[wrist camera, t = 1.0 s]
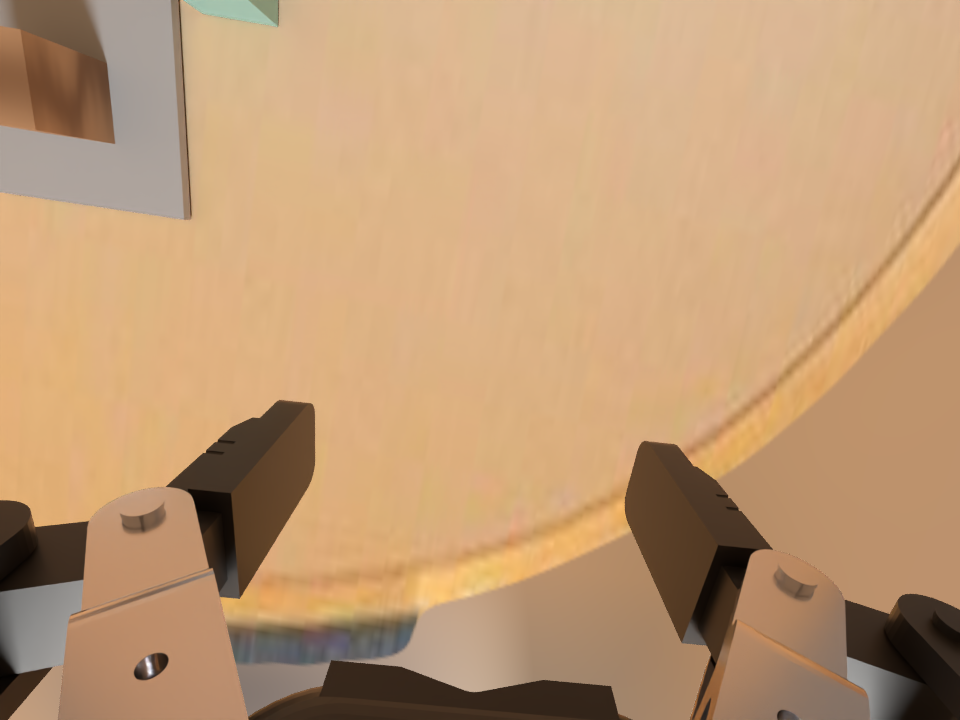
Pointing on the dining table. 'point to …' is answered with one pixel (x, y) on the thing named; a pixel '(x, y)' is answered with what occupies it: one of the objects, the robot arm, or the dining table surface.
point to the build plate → (135, 109)
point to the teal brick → (240, 10)
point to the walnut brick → (53, 88)
